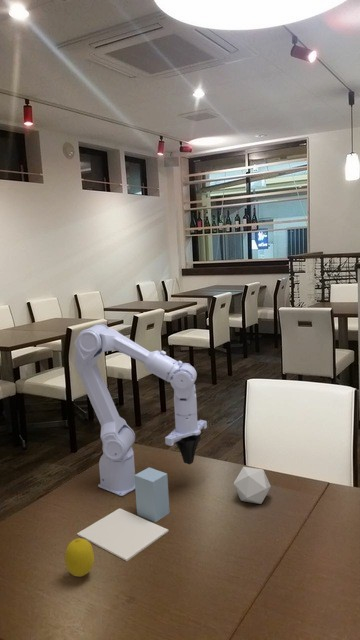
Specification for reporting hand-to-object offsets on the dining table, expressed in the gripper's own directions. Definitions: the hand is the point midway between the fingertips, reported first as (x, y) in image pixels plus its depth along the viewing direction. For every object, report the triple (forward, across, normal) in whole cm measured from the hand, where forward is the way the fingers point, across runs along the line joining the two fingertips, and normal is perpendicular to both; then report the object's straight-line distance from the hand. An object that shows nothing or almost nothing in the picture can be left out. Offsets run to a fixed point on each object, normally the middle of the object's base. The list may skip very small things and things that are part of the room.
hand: (188, 462), depth 127 cm
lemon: (+8, -39, -4) cm, 40 cm away
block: (+8, -14, 0) cm, 16 cm away
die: (+8, +5, -16) cm, 18 cm away
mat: (+8, -24, 0) cm, 25 cm away
